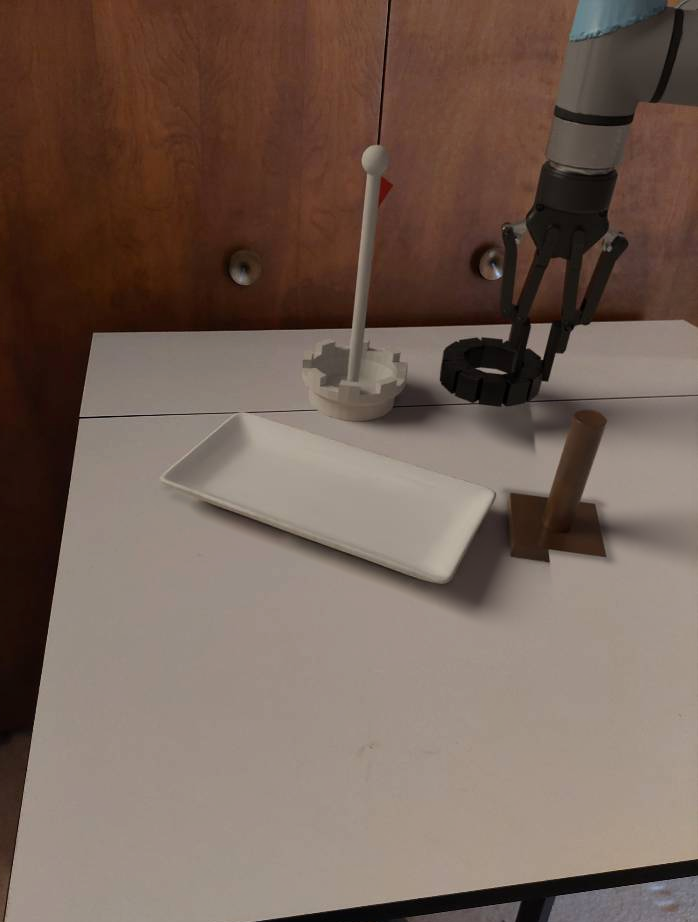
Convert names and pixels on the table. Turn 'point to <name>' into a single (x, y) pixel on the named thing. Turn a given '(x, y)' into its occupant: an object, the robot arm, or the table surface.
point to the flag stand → (358, 332)
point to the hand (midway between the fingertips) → (529, 374)
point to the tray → (336, 495)
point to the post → (562, 501)
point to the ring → (490, 386)
